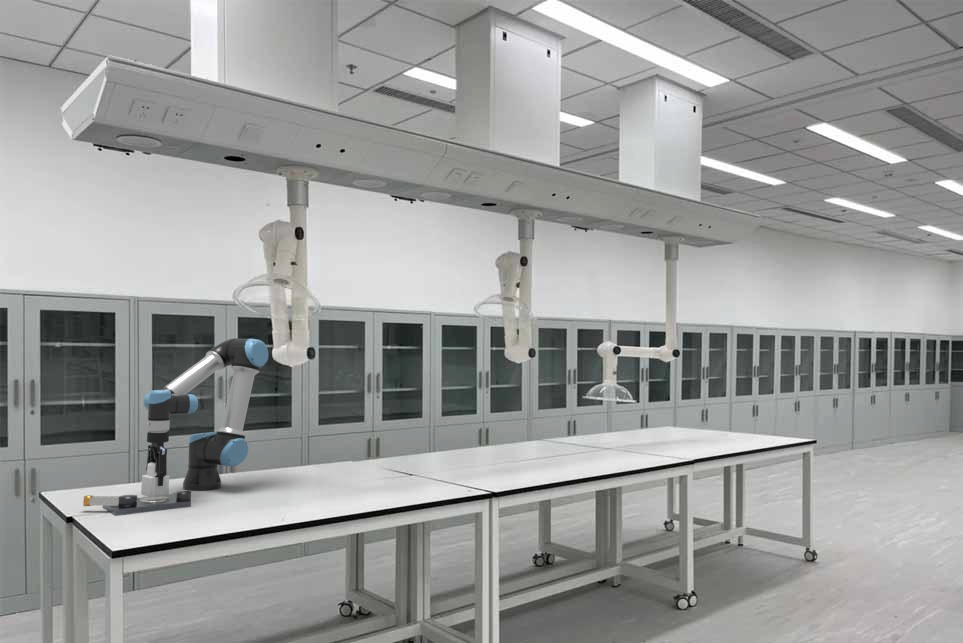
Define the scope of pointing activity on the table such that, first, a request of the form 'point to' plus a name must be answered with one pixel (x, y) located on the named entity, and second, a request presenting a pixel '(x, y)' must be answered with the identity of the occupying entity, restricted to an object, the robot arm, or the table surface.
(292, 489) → the table surface
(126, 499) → the ball lever handle
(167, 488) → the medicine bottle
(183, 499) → the knob
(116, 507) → the dark grey base plate
